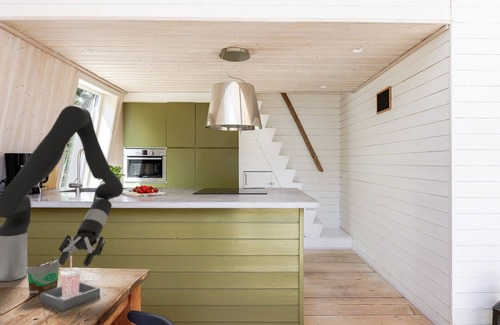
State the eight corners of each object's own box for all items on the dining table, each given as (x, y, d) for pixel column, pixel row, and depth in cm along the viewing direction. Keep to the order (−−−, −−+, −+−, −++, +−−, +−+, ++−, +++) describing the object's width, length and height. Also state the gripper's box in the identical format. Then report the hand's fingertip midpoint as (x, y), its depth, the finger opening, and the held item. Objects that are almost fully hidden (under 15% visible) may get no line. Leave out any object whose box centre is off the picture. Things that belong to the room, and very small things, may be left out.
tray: (40, 302, 103) (40, 293, 103) (77, 288, 114) (77, 280, 114) (63, 311, 97) (63, 301, 97) (99, 296, 108) (99, 287, 108)
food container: (41, 299, 105) (41, 269, 105) (25, 297, 107) (26, 267, 107) (69, 284, 117) (69, 258, 117) (55, 283, 119) (55, 256, 119)
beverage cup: (55, 301, 102) (56, 258, 102) (65, 293, 108) (66, 253, 108) (75, 301, 102) (76, 258, 102) (84, 293, 108) (84, 253, 108)
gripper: (70, 217, 116) (47, 258, 105) (107, 218, 115) (89, 260, 104) (79, 228, 121) (58, 268, 110) (114, 230, 120) (97, 270, 109)
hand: (73, 264), depth 107 cm, fingers open, 8 cm apart
